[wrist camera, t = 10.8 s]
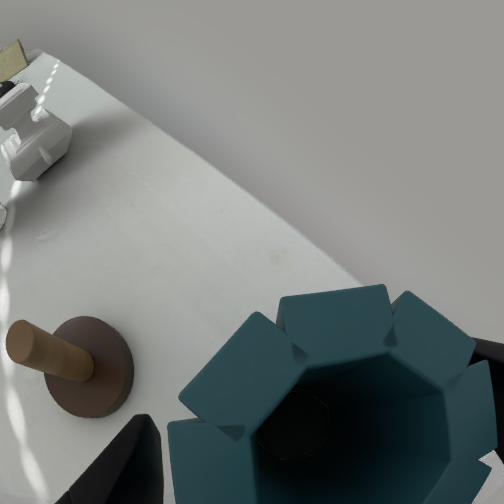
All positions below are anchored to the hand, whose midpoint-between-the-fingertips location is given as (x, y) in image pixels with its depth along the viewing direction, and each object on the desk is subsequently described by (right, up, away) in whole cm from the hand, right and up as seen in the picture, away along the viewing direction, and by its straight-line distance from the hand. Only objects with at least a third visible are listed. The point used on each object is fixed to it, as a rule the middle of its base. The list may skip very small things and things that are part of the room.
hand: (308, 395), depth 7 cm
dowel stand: (-10, -2, +6) cm, 12 cm away
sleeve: (0, -4, +5) cm, 6 cm away
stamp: (-21, +13, +15) cm, 29 cm away
